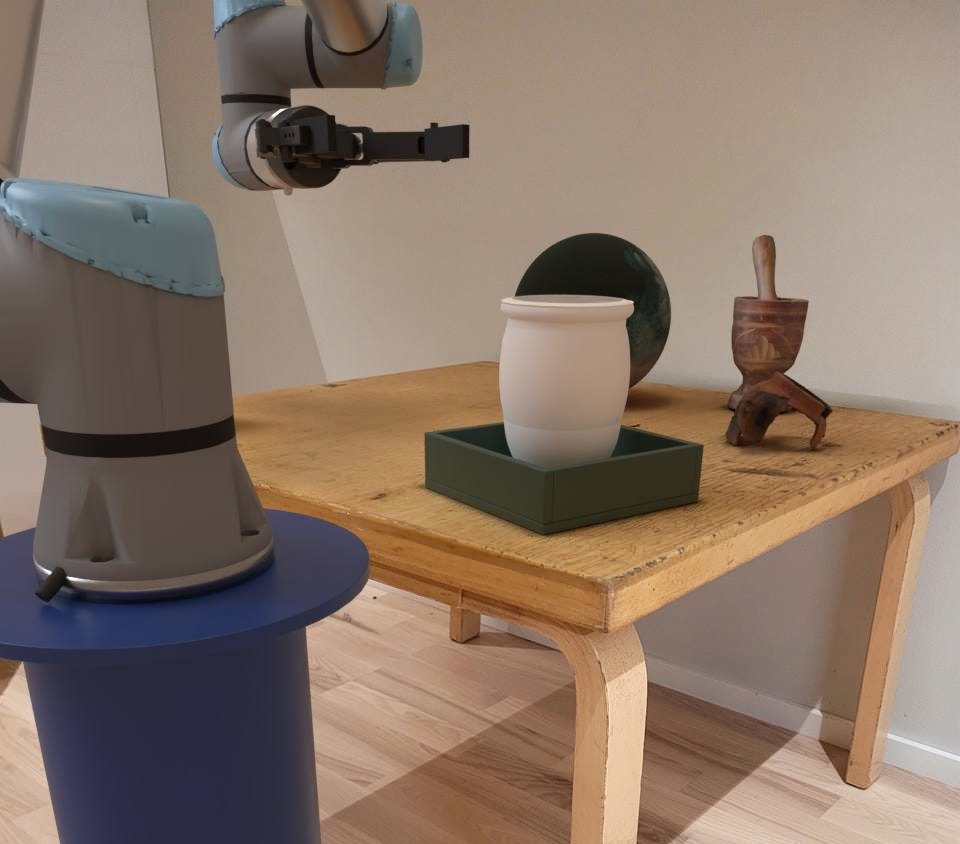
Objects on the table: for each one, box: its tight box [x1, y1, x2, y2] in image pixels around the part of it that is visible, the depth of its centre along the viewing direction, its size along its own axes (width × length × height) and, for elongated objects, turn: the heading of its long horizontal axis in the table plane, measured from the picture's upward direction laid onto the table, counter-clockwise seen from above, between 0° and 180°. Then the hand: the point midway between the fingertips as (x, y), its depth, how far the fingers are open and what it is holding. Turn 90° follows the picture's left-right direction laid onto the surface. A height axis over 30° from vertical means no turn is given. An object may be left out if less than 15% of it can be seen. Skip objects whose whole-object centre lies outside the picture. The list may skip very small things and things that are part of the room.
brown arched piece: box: [724, 372, 834, 450], centre depth 99 cm, size 12×10×8 cm
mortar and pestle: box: [727, 234, 810, 413], centre depth 117 cm, size 12×9×20 cm
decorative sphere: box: [514, 232, 672, 390], centre depth 121 cm, size 20×20×20 cm
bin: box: [423, 421, 705, 536], centre depth 81 cm, size 17×17×5 cm
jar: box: [498, 295, 634, 469], centre depth 79 cm, size 11×10×15 cm
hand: (402, 137), depth 84 cm, fingers open, 13 cm apart
